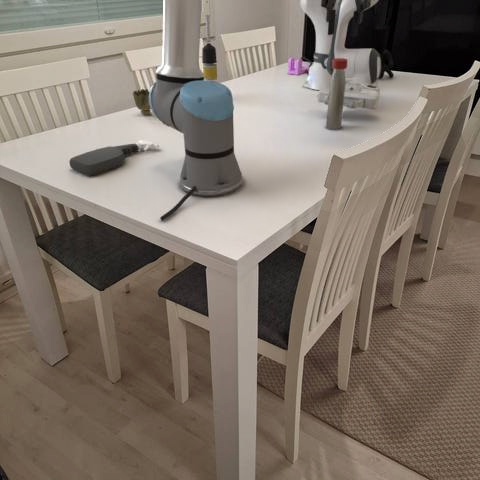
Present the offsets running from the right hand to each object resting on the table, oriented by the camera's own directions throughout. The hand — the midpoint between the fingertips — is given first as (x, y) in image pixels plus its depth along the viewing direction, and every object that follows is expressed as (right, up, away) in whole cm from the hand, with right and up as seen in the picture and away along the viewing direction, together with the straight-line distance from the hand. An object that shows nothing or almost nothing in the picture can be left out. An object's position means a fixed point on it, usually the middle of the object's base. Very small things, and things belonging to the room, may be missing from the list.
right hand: (339, 103), depth 144 cm
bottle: (-2, -7, +1) cm, 8 cm away
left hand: (-2, +16, -13) cm, 21 cm away
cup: (-67, +2, +18) cm, 69 cm away
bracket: (-3, +38, +74) cm, 84 cm away
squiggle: (+33, +31, +61) cm, 76 cm away
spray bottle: (-67, -22, -20) cm, 73 cm away
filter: (-44, +13, +34) cm, 57 cm away
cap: (-2, +10, -10) cm, 14 cm away
